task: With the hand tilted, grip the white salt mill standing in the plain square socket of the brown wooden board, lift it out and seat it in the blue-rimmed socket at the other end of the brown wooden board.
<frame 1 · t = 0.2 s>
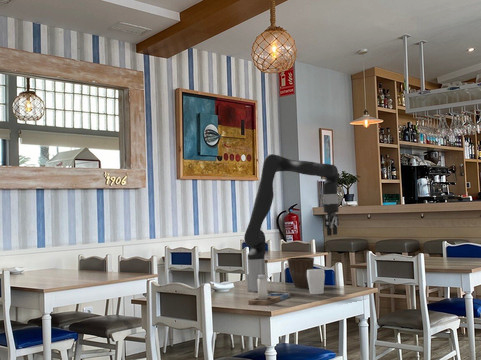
hand: (332, 235, 301), 29 cm above the table, tool pointing down, fingers open, 8 cm apart
plant pot: (302, 287, 329), on the table
salt mill: (263, 302, 272), point 1 cm above the table, touching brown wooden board
cup: (316, 294, 300), on the table
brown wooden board: (270, 301, 278), on the table
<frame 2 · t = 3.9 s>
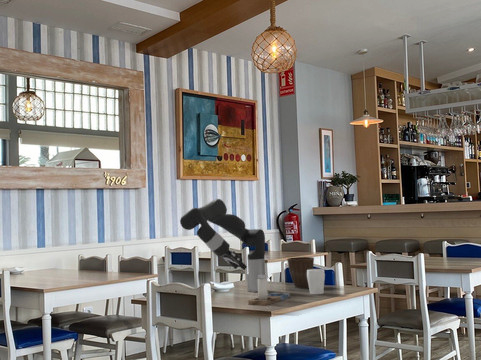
hand: (241, 267, 269), 17 cm above the table, tool tilted 45°, fingers open, 8 cm apart
nothing on the table moved.
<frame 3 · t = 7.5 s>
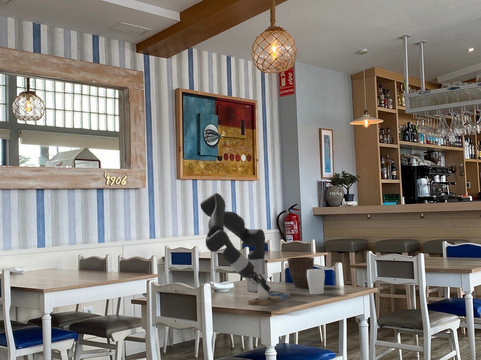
hand: (266, 289, 274), 7 cm above the table, tool tilted 45°, fingers closed on salt mill, 4 cm apart
salt mill: (263, 302, 272), point 1 cm above the table, touching gripper, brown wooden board
everything else where it was.
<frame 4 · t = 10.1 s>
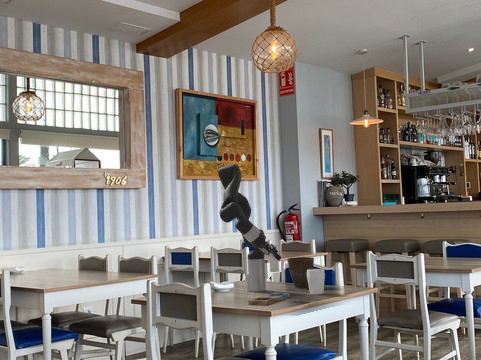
hand: (277, 258, 286), 19 cm above the table, tool tilted 45°, fingers closed on salt mill, 4 cm apart
salt mill: (274, 271, 285), point 13 cm above the table, touching gripper
everything else where it was.
when the fingers open (8 cm above the table, at t = 12.5 s): salt mill stays where it is, resting on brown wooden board.
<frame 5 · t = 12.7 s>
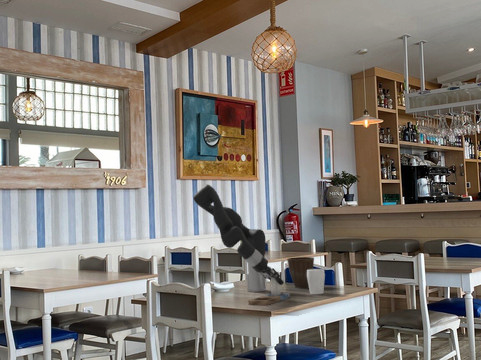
hand: (278, 283, 286), 8 cm above the table, tool tilted 45°, fingers open, 6 cm apart
salt mill: (276, 298, 285), point 1 cm above the table, touching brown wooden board
everything else where it was.
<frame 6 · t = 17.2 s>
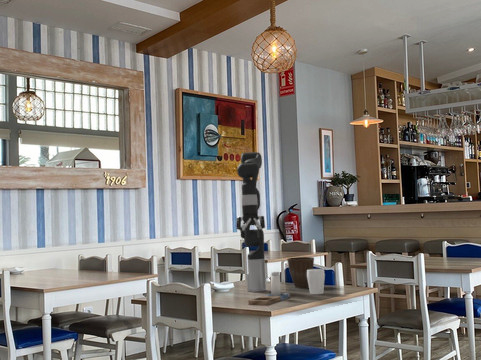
hand: (251, 238, 286), 30 cm above the table, tool pointing down, fingers open, 8 cm apart
nothing on the table moved.
at the end: salt mill 0.2 cm from the target spot on the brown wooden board, point 0.6 cm above the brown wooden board's base; salt mill tilted 1°; the gripper is holding nothing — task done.
